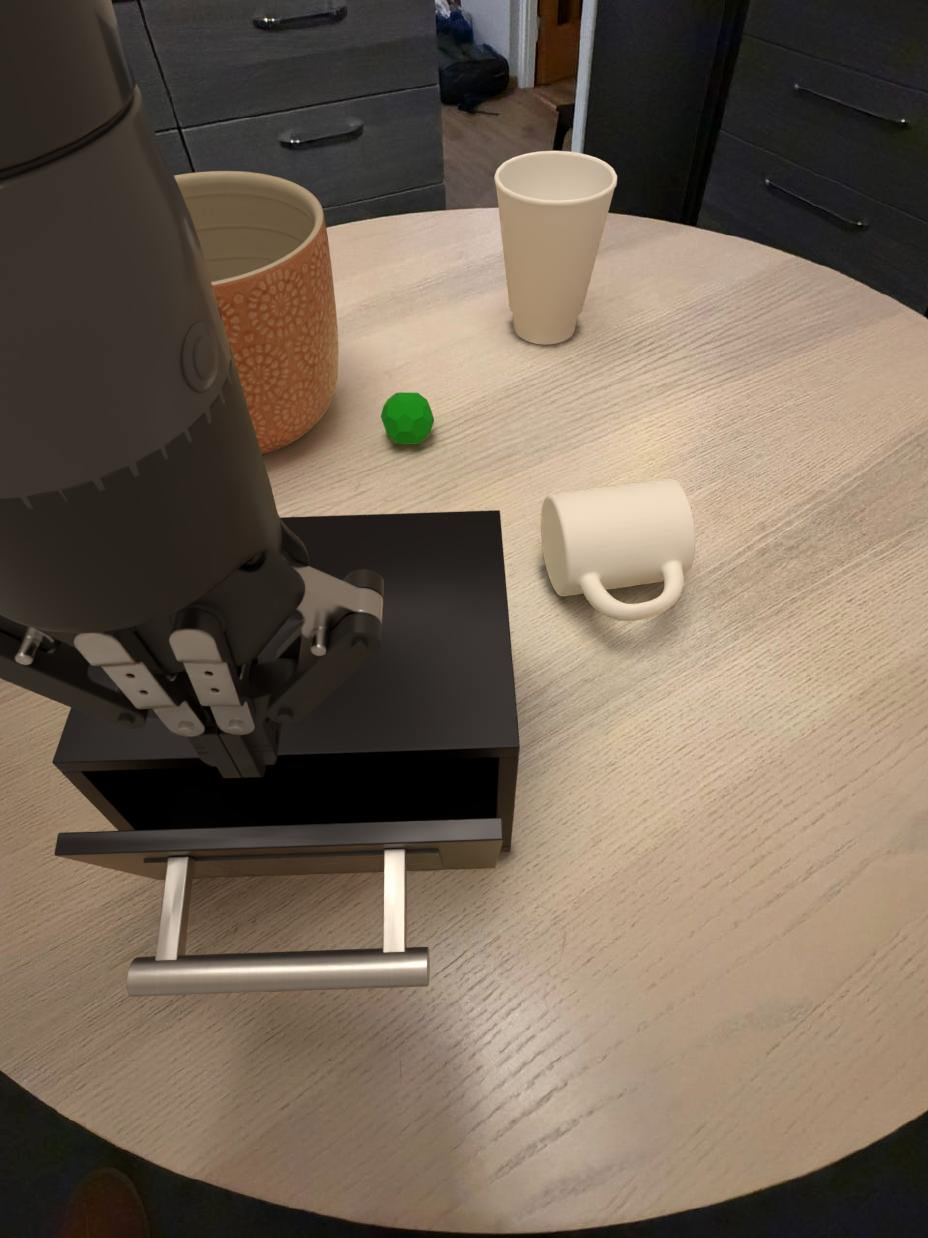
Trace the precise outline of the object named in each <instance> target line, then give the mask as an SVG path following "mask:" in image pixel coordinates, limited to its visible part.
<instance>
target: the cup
mask: <svg viewBox="0 0 928 1238" xmlns="http://www.w3.org/2000/svg"><path fill="white" fill-rule="evenodd" d="M493 177H494V178H493V179H494V183H495V188H496V189H495V190H496V196H497V207H498V212H499V213H498V215H499V224H500V232H501V241H502V242H501V243H502V251H503V261H504V269H505V278H506V287H507V288H506V289H507V296H508V303H509V304H508V306H509V309H510V311H511V313H512V321H513V329H514V332H515V334H516V335H517V337H519V338H520V339H522V340H524V341H526V342H528V343H530V344H535V345H555V344H559V343H563V342H565V341H567V340H569V339H570V338H571V337H572V336H573V335H574V333H575V330H576V325H577V321H578V318H579V316H580V314H581V313H582V312H583V310H584V309H583V308H584V305H585V301H586V298H587V294H588V290H589V286H590V283H591V279H592V274H593V271H594V268H595V263H596V259H597V256H598V253H599V249H600V245H601V241H602V237H603V234H604V230H605V225H606V221H607V218H608V214H609V211H610V207H611V203H612V200H613V196H614V191H615V188H617V185H618V175H617V173H616V171H615V168H614V167H612V166H611V165H610V164H609V163H608V162H606V161H604V160H603V159H600V158H598V157H595V156H592V155H589V154H586V153H580V152H575V151H568V150H543V151H542V150H541V151H534V152H528V153H524V154H520V155H516V156H514V157H512V158H509V159H508V160H506V161H505V162H502V164H500V165H499V167H498V168H497V169H496V170H495V173H494V176H493Z"/></svg>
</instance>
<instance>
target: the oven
mask: <svg viewBox="0 0 928 1238" xmlns="http://www.w3.org/2000/svg"><path fill="white" fill-rule="evenodd" d="M279 517H280V518H281V520H282V521H283V523H284V524H285V525H286V526H287V527H288V528H289V529H290V530H291V531H292V532H293V533H294V534H295V535H296V536H297V537H298V538H299V539H300V540H301V541H302V542H303V544H304V546H305V547H306V549H307V552H308V556H309V566H310V567H312V568H314V569H317V570H319V571H321V572H324V573H326V574H328V575H331V576H333V577H335V578H337V579H340V580H343V579H344V578H345V577H346V576H347V575H348V574H349V573H351V572H352V571H355V570H359V569H368V570H372V571H375V572H377V573H378V574H380V575H381V576H382V577H383V579H384V598H383V617H382V635H381V648H380V650H379V651H378V652H377V653H376V654H375V655H374V656H373V657H372V658H370V659H369V660H368V661H367V662H366V663H365V664H364V665H363V666H362V667H360V668H359V669H358V670H357V671H356V672H355V673H354V674H353V675H352V676H350V677H349V678H348V679H347V680H346V681H345V682H344V683H343V684H341V685H340V686H339V687H338V688H337V689H336V690H335V691H334V692H333V693H331V694H330V695H329V696H328V697H327V698H326V699H325V700H324V701H322V702H321V703H320V704H319V705H318V706H317V707H316V708H315V709H314V710H312V711H311V712H310V713H309V714H308V715H307V716H306V717H305V718H303V719H302V720H301V721H299V722H297V723H293V724H283V723H281V725H282V727H281V734H280V741H279V748H278V755H277V760H276V762H275V765H266V769H265V774H264V776H263V777H249V778H244V777H243V778H223V776H222V775H221V773H220V771H219V770H218V768H217V767H216V766H209V765H208V764H206V763H205V762H203V761H202V760H201V759H200V757H199V756H198V754H197V752H196V751H195V749H194V747H193V746H192V744H191V743H190V741H189V740H188V738H187V737H186V736H182V735H178V734H175V733H173V732H171V731H170V730H169V729H168V728H167V726H166V725H165V724H164V723H163V722H162V720H161V719H156V718H148V717H147V719H146V723H145V725H144V726H143V727H141V728H137V729H126V728H121V727H118V726H115V725H113V724H110V723H108V722H105V721H103V720H100V719H98V718H96V717H93V716H91V715H88V714H86V713H83V712H81V711H79V710H76V709H74V708H71V707H70V709H69V712H68V714H67V718H66V720H65V723H64V726H63V730H62V731H61V735H60V737H59V741H58V744H57V746H56V749H55V753H54V755H53V759H52V761H51V764H52V765H53V766H54V767H55V768H56V769H57V770H58V771H59V772H60V773H61V774H62V775H63V776H64V778H66V779H67V780H68V781H69V782H70V783H71V784H72V785H73V786H74V787H75V788H76V789H77V791H79V792H80V793H81V795H83V796H84V798H85V799H86V800H87V801H88V802H90V804H91V805H93V807H94V808H95V809H96V810H97V811H98V812H100V814H101V815H102V816H103V817H104V818H105V819H106V820H107V821H108V822H109V823H110V824H111V825H112V826H113V827H114V828H115V829H116V831H124V830H153V829H182V828H211V827H240V826H268V825H297V824H326V823H355V822H384V821H413V820H442V819H471V818H500V817H501V818H502V819H503V837H504V839H503V842H502V846H501V850H500V853H499V855H501V854H502V853H510V852H511V851H512V841H513V828H514V817H515V807H516V806H515V805H516V795H517V784H518V783H517V782H518V772H519V761H520V760H519V758H520V748H521V746H520V745H521V744H520V733H519V720H518V710H517V698H516V685H515V684H516V683H515V674H514V673H515V672H514V660H513V648H512V639H511V626H510V613H509V602H508V601H509V600H508V591H507V590H508V589H507V577H506V565H505V555H504V553H505V552H504V543H503V530H502V518H501V510H500V509H497V510H494V509H493V510H491V509H490V510H468V511H467V510H466V511H465V510H463V511H462V510H461V511H437V512H436V511H431V512H403V513H374V514H370V513H369V514H345V515H344V514H340V515H311V516H309V515H308V516H279ZM302 616H303V615H302V614H301V613H300V612H299V611H298V610H295V611H294V612H293V614H292V615H291V616H290V617H289V619H288V620H287V621H286V622H285V623H284V625H283V626H282V627H281V628H280V630H279V631H278V632H277V633H276V635H275V636H274V637H273V638H272V639H271V641H270V642H269V643H268V644H267V646H266V647H265V648H264V649H263V650H262V652H261V657H262V661H263V663H264V662H268V661H271V660H275V658H276V652H277V650H278V649H279V648H280V647H281V645H282V644H283V643H284V642H285V641H286V640H287V639H288V638H289V637H290V636H291V635H292V634H293V633H294V632H295V631H296V629H297V628H298V627H299V626H300V625H301V623H302ZM88 676H89V678H90V679H91V680H92V681H94V682H96V683H98V684H101V685H103V686H105V687H108V688H110V689H112V690H114V691H115V689H116V686H117V685H116V684H115V682H114V681H113V680H112V679H111V678H110V676H109V675H108V674H107V673H106V672H105V671H104V669H103V668H102V667H101V666H96V667H95V666H92V665H91V664H90V665H89V668H88Z"/></svg>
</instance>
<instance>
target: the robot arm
mask: <svg viewBox="0 0 928 1238" xmlns="http://www.w3.org/2000/svg"><path fill="white" fill-rule="evenodd" d="M174 176H175V175H174V173H173V171H172V168H171V165H170V164H169V162H168V159H167V157H166V155H165V152H164V151H163V148H162V145H161V143H160V140H159V138H158V136H157V134H156V131H155V128H154V126H153V124H152V121H151V118H150V116H149V113H148V110H147V107H146V104H145V100H144V98H143V95H142V92H141V89H140V88H139V86H138V84H137V82H136V78H135V74H134V71H133V67H132V64H131V60H130V57H129V54H128V51H127V48H126V45H125V40H124V38H123V34H122V32H121V28H120V24H119V21H118V18H117V15H116V11H115V9H114V6H113V2H112V0H0V680H3V681H5V682H8V683H10V684H13V685H15V686H18V687H20V688H22V689H25V690H27V691H30V692H32V693H35V694H37V695H40V696H43V697H45V698H46V699H49V700H52V701H54V702H57V703H59V704H62V705H64V706H66V707H68V708H70V709H71V708H74V709H76V710H79V711H81V712H83V713H86V714H88V715H91V716H93V717H96V718H98V719H100V720H103V721H105V722H108V723H110V724H113V725H115V726H118V727H121V728H126V729H137V728H141V727H143V726H144V725H145V723H146V719H147V717H148V718H156V719H161V720H162V722H163V723H164V724H165V725H166V726H167V728H168V729H169V730H170V731H171V732H173V733H175V734H178V735H182V736H186V737H187V738H188V740H189V741H190V743H191V744H192V746H193V747H194V749H195V751H196V752H197V754H198V756H199V757H200V759H201V760H202V761H203V762H205V763H206V764H208V765H209V766H216V767H217V768H218V770H219V771H220V773H221V775H222V776H223V778H243V777H244V778H249V777H263V776H264V774H265V769H266V765H275V762H276V760H277V755H278V748H279V741H280V734H281V727H282V725H281V723H283V724H293V723H297V722H299V721H301V720H302V719H303V718H305V717H306V716H307V715H308V714H309V713H310V712H311V711H312V710H314V709H315V708H316V707H317V706H318V705H319V704H320V703H321V702H322V701H324V700H325V699H326V698H327V697H328V696H329V695H330V694H331V693H333V692H334V691H335V690H336V689H337V688H338V687H339V686H340V685H341V684H343V683H344V682H345V681H346V680H347V679H348V678H349V677H350V676H352V675H353V674H354V673H355V672H356V671H357V670H358V669H359V668H360V667H362V666H363V665H364V664H365V663H366V662H367V661H368V660H369V659H370V658H372V657H373V656H374V655H375V654H376V653H377V652H378V651H379V650H380V648H381V635H382V617H383V598H384V579H383V577H382V576H381V575H380V574H378V573H377V572H375V571H372V570H368V569H359V570H355V571H352V572H351V573H349V574H348V575H347V576H346V577H345V578H344V579H343V580H340V579H337V578H335V577H333V576H331V575H328V574H326V573H324V572H321V571H319V570H317V569H314V568H312V567H310V566H309V556H308V552H307V549H306V547H305V546H304V544H303V542H302V541H301V540H300V539H299V538H298V537H297V536H296V535H295V534H294V533H293V532H292V531H291V530H290V529H289V528H288V527H287V526H286V525H285V524H284V523H283V521H282V520H281V518H280V517H281V516H280V515H279V512H278V509H277V505H276V500H275V496H274V492H273V488H272V484H271V481H270V478H269V474H268V470H267V467H266V463H265V461H264V457H263V454H262V453H261V450H260V446H259V443H258V440H257V436H256V433H255V429H254V426H253V423H252V419H251V416H250V412H249V409H248V406H247V402H246V399H245V395H244V392H243V389H242V385H241V381H240V378H239V375H238V371H237V368H236V364H235V361H234V357H233V354H232V351H231V347H230V344H229V341H228V337H227V334H226V330H225V327H224V323H223V320H222V317H221V313H220V310H219V306H218V303H217V299H216V296H215V293H214V289H213V286H212V283H211V279H210V276H209V272H208V269H207V265H206V262H205V259H204V255H203V252H202V248H201V245H200V242H199V239H198V236H197V233H196V230H195V227H194V224H193V221H192V218H191V215H190V212H189V210H188V208H187V205H186V203H185V200H184V198H183V195H182V193H181V190H180V188H179V186H178V184H177V181H176V179H175V177H174ZM295 610H298V611H299V612H300V613H301V614H302V615H303V616H302V623H301V625H300V626H299V627H298V628H297V629H296V631H295V632H294V633H293V634H292V635H291V636H290V637H289V638H288V639H287V640H286V641H285V642H284V643H283V644H282V645H281V647H280V648H279V649H278V650H277V652H276V658H275V660H271V661H268V662H264V663H263V661H262V657H261V652H262V650H263V649H264V648H265V647H266V646H267V644H268V643H269V642H270V641H271V639H272V638H273V637H274V636H275V635H276V633H277V632H278V631H279V630H280V628H281V627H282V626H283V625H284V623H285V622H286V621H287V620H288V619H289V617H290V616H291V615H292V614H293V612H294V611H295ZM90 664H91V665H92V666H95V667H96V666H101V667H102V668H103V669H104V671H105V672H106V673H107V674H108V675H109V676H110V678H111V679H112V680H113V681H114V682H115V684H116V685H117V686H116V689H115V691H114V690H112V689H110V688H108V687H105V686H103V685H101V684H98V683H96V682H94V681H92V680H91V679H90V678H89V676H88V668H89V665H90Z"/></svg>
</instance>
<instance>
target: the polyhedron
mask: <svg viewBox="0 0 928 1238" xmlns="http://www.w3.org/2000/svg"><path fill="white" fill-rule="evenodd" d="M380 418H381V421H382V425H383V427H384V429H385V432H386V435H387V438H388V439H390V440H391V441H392V442H394V443H395V444H397V445H419V444H421V442H423V441H424V440H426V439H427V438H428V437H429V435H430V433H431V432H432V430H433V425H434V423H435V418H434V415H433V411H432V409H431V405H430V403H429V401H428V399H427V398H425V396H423V395H422V394H420V393H419V392H407V391H406V392H401V391H400V392H395V393H394V394H392V396H390V397H389V398H388V399H387V400H386V401H385V403H384V405H383V407H382V410H381V413H380Z"/></svg>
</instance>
